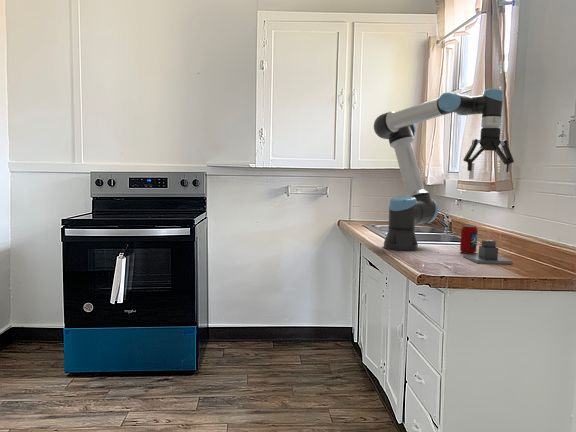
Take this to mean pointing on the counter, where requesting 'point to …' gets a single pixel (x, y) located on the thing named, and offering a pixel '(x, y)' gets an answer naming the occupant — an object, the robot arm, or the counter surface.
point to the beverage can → (468, 239)
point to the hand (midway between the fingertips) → (487, 179)
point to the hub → (478, 259)
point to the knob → (488, 249)
